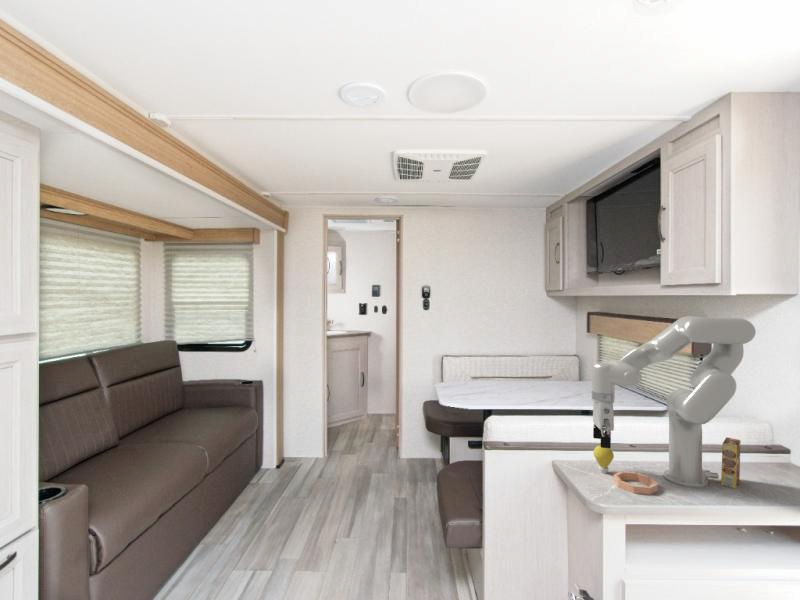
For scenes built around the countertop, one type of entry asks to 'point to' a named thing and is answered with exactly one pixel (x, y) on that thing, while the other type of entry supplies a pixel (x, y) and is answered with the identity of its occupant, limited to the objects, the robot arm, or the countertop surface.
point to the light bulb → (603, 458)
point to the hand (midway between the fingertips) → (601, 442)
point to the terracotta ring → (635, 477)
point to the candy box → (730, 462)
